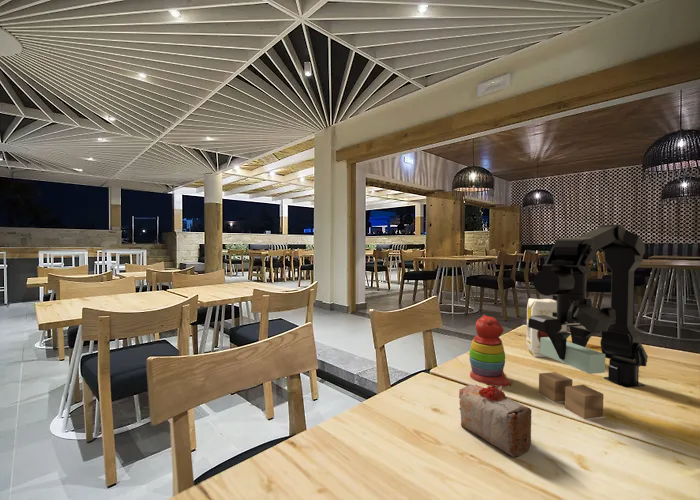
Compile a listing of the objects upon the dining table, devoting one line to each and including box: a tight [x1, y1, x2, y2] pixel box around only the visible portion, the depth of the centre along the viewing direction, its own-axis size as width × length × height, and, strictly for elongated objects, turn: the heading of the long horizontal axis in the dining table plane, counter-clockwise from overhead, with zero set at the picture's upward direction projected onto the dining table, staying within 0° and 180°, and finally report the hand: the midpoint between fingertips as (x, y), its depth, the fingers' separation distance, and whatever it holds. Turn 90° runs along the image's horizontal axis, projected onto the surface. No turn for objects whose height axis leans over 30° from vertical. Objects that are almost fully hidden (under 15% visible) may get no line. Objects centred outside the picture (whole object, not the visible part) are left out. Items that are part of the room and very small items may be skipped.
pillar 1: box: [538, 371, 573, 403], centre depth 85 cm, size 5×5×5 cm
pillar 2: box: [564, 384, 604, 420], centre depth 77 cm, size 5×5×5 cm
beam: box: [540, 337, 606, 375], centre depth 81 cm, size 14×4×4 cm, turn 13°
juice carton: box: [526, 297, 557, 359], centre depth 118 cm, size 8×9×19 cm
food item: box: [458, 384, 532, 458], centre depth 68 cm, size 14×8×10 cm, turn 29°
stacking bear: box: [469, 314, 511, 388], centre depth 96 cm, size 11×10×18 cm
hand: (569, 358), depth 81 cm, fingers closed on beam, 4 cm apart
